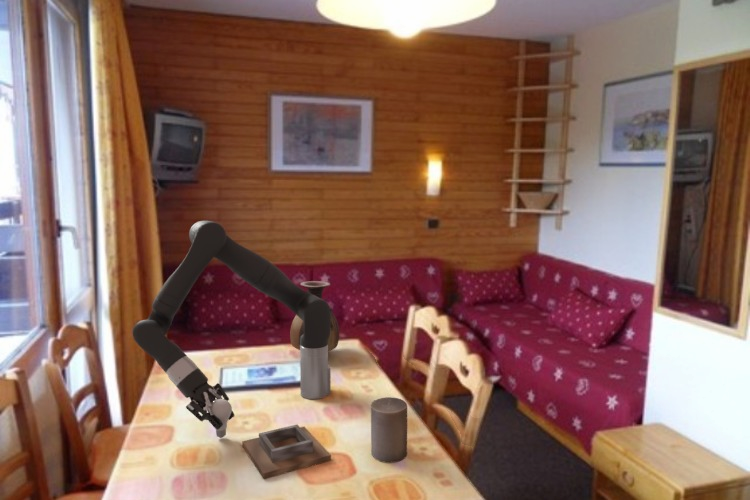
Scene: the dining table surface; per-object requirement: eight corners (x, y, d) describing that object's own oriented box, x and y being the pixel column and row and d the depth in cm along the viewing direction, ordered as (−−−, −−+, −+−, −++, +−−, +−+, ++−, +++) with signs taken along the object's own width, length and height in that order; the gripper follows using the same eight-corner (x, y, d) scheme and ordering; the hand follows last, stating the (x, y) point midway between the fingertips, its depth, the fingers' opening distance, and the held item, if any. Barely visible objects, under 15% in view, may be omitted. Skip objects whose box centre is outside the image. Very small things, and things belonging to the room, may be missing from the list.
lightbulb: (226, 443, 148) (225, 405, 147) (205, 441, 149) (204, 403, 148) (236, 433, 154) (235, 396, 153) (216, 431, 155) (215, 394, 154)
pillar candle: (411, 447, 148) (411, 395, 146) (401, 465, 139) (401, 409, 137) (377, 442, 151) (377, 390, 149) (365, 459, 142) (365, 404, 140)
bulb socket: (304, 431, 156) (304, 416, 156) (330, 460, 141) (330, 444, 140) (242, 446, 148) (242, 430, 147) (263, 479, 132) (263, 461, 132)
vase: (315, 369, 204) (315, 291, 200) (277, 359, 215) (276, 285, 210) (351, 353, 223) (351, 281, 219) (314, 344, 234) (314, 276, 230)
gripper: (179, 377, 144) (220, 426, 143) (209, 359, 158) (247, 403, 156) (162, 394, 146) (203, 442, 145) (194, 375, 160) (231, 418, 159)
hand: (226, 422), depth 151 cm, fingers closed on lightbulb, 5 cm apart
